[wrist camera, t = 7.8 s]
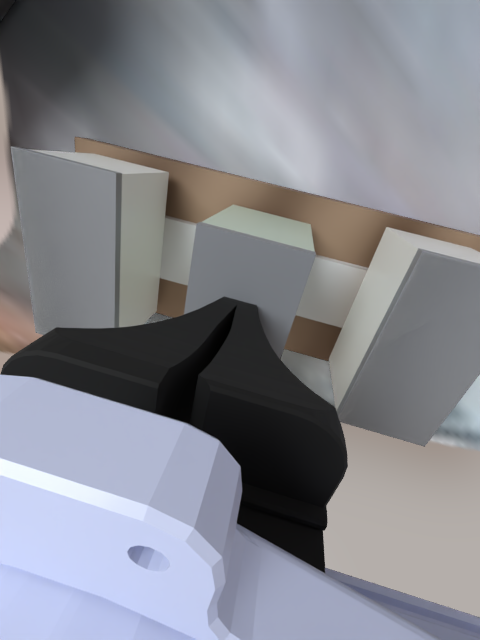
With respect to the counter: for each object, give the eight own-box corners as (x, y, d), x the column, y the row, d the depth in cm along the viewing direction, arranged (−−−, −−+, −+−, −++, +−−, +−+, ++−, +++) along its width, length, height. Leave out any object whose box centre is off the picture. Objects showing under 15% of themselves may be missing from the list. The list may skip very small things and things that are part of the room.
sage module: (311, 223, 15) (316, 255, 10) (278, 326, 18) (268, 393, 13) (233, 204, 15) (196, 223, 10) (213, 308, 18) (176, 366, 13)
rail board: (488, 237, 15) (509, 245, 14) (406, 373, 20) (415, 390, 18) (88, 138, 17) (66, 135, 15) (92, 285, 21) (75, 295, 20)
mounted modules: (472, 247, 14) (548, 282, 10) (394, 378, 18) (424, 446, 14) (93, 152, 15) (10, 146, 11) (96, 294, 19) (35, 332, 15)
